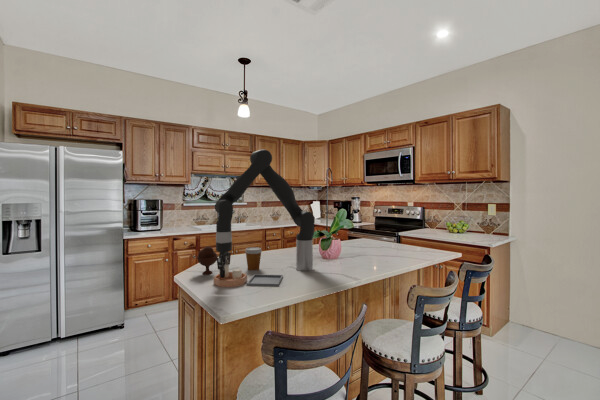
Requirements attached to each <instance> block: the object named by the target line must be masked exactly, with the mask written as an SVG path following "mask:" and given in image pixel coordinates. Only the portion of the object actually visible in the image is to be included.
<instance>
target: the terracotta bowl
mask: <svg viewBox="0 0 600 400" xmlns="http://www.w3.org/2000/svg"><path fill="white" fill-rule="evenodd" d="M247 282H248V274H247V273H244V272H242V278H240V279H235V280H232V271H229V277H226V278H220V277H219V273H217V274H216V275H215V276H214V277H213V285H216V286H217V287H221V288H234V287H238V286H239V287H240V286H244V284H246V283H247Z"/></svg>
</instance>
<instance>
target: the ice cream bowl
mask: <svg viewBox="0 0 600 400" xmlns="http://www.w3.org/2000/svg"><path fill="white" fill-rule="evenodd" d="M217 258H219V254H217V252H215V251H214V248H213V247H212V246H210V245H209V246H204V247H203V248H202V249H200V250H199V251H198V254H197V257H196V259H197V262H198V263H199V264H200V265H201V266H202V267H205V270H204V271H202V275H204V276H208V275H212V274H213V270H210V267H211V266H212V265H214V264H215V263H217Z"/></svg>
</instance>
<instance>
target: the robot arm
mask: <svg viewBox="0 0 600 400" xmlns="http://www.w3.org/2000/svg"><path fill="white" fill-rule="evenodd" d="M249 161H250V163H251V164H250V165H249V166H248V167H247V169H246V170H245V171H244V172H243V173H242V174H241V175H239V176H238V177H237V178H236V179H235V181H234V182H233V183H232V184H231V185H230V186H229V188H228V189H227V190H226V192H225V193H223V194H222V195H221V196H220V197H219V199H218V200H217V201H216V202H215V203H214V209H215V212H216V213H217V214H218V220H217V221H216V226H215V230H216V233H215V251H216V252H217V253H219V254H218V258H217V261H216V264H217V270H220V278H224V277H225V265H226V264H228V265H229V266H230V264H231V257H232V256H231V254H232V253H231V252H230V251H232V250H233V234H232V220H233V213H234V206H233V204H234V203H235V202H236V201H238V200H239V199H240V198H241V197H242V196H243V195H244V194H245V192H247V190H248V188H249V187H250V185H251V184H252V183H254V181H255V180H256V178H258V176H259V175H260V176H261V177H262V178H263V180H264V181H265V182H266V183H267V185H268V186H269V188H270V189H271V190H272V192H273V193H274V195H275V196H276V197H277V199H278V200H279V202H280V203H281V204H282V206H283V207H284V209H286V210H287V212H288V214H289V215H290V218H291V219H292V221H293V222H294V224H295V226H297V227H300V228H299V229H300V230H299V233H297V234H296V235H295V236H296V238H295V239H296V244H295V245H296V250H295V251H296V261H295V262H296V265H295V266H296V267H295V268H296V270H297V272H311V271H313V265H314V264H313V261H314V259H313V256H314V254H313V245H314V244H313V242H314V239H313V237H314V235H315V234H314V233H315V216H314V214H313V213H312V212H310V211H306V210H303V209H302V208H301V207H300V205H299V204H298V202H297V200H296V196H295V192H294V190H293V189H292V186H290V184H289V182H288V181H287V180H286V179H285V178H283V176H281V175H280V174H279V173H277V172H276V171H275V169H273V167H272V166H271V163H272V161H273V156H272V153H271V152H270V151H269V150H267V149H259V150H256V151H253V152H252V153H251V154H250V157H249ZM221 266H222V267H221Z"/></svg>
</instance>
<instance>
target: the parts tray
mask: <svg viewBox="0 0 600 400" xmlns="http://www.w3.org/2000/svg"><path fill="white" fill-rule="evenodd" d="M283 277H284V275H283V274H260V273H259V274H258V273H257V274H253V275H252V276H251V277H250V279H249V280H247V281H246V282H245V284H246V286H253V287H255V286H258V287H279V286H280V283H281V282H282V279H283Z"/></svg>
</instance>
